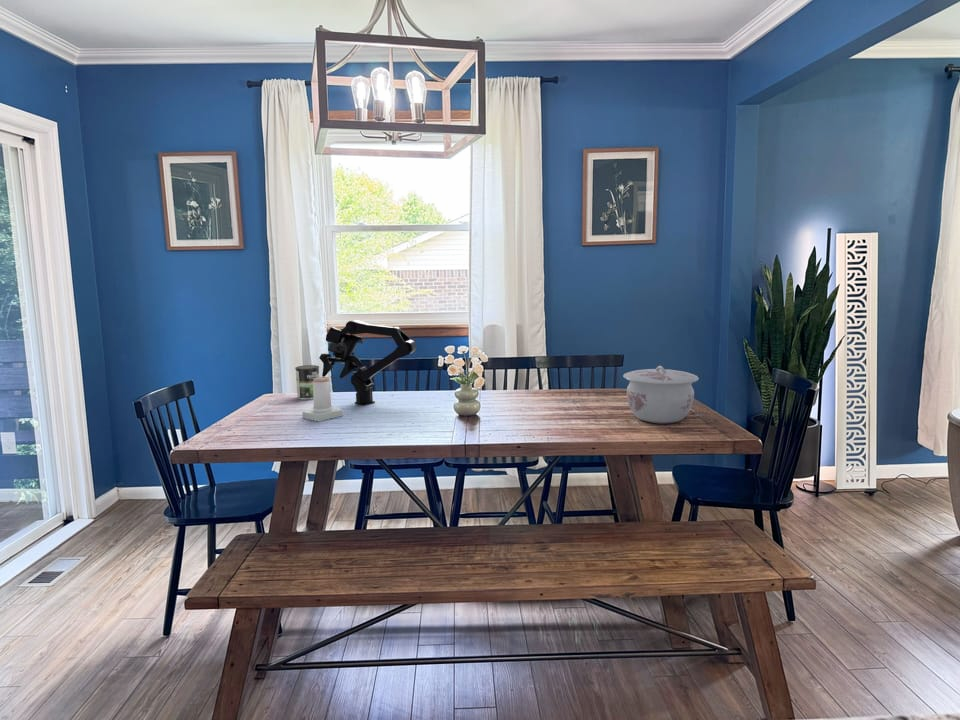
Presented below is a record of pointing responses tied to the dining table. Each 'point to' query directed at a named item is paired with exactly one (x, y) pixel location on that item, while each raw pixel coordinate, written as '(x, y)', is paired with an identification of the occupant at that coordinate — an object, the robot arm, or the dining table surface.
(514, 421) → the dining table surface
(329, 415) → the sage block
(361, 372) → the robot arm
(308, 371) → the coffee can
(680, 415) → the chamber pot
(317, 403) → the cream jar
